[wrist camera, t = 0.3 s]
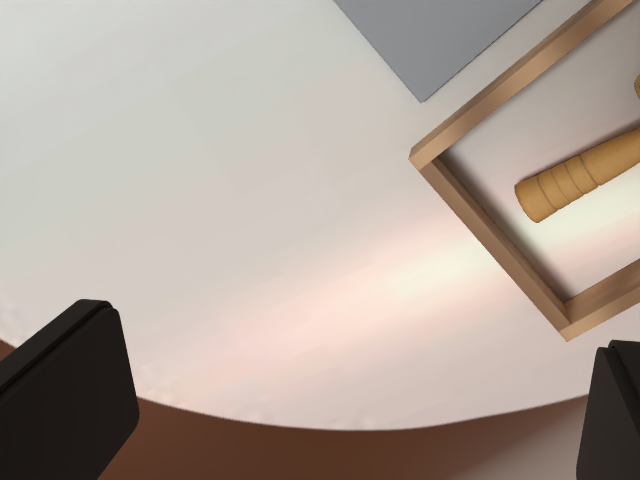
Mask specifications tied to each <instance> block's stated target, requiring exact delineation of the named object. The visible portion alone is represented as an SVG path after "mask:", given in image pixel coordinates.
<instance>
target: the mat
mask: <svg viewBox="0 0 640 480" xmlns="http://www.w3.org/2000/svg"><path fill="white" fill-rule="evenodd" d="M540 1H541V0H334V2H335V3H336V4H337V5H338V6H339V8H340V9H341V10H342V11H343V12H344V13H345V15H346V16H347V17H348V18H349V19H350V21H351V22H352V23H353V24H354V25H355V26H356V28H357V29H358V30H359V31H360V32H361V34H362V35H363V36H364V37H365V38H366V39H367V41H368V42H369V43H370V44H371V45H372V47H373V48H374V49H375V50H376V51H377V52H378V54H379V55H380V56H381V57H382V58H383V60H384V61H385V62H386V63H387V64H388V65H389V67H390V68H391V69H392V70H393V71H394V73H395V74H396V75H397V76H398V77H399V78H400V80H401V81H402V82H403V83H404V84H405V86H406V87H407V88H408V89H409V90H410V91H411V93H412V94H413V95H414V96H415V97H416V98H417V100H418V101H419V102H420V103H422V102H423V101H424V100H426V99H427V98H428V97H429V96H430V95H431V94H433V93H434V92H435V91H436V90H437V89H438V88H440V87H441V86H442V85H443V84H444V83H445V82H447V81H448V80H449V79H450V78H451V77H452V76H454V75H455V74H456V73H457V72H458V71H459V70H461V69H462V68H463V67H464V66H465V65H466V64H468V63H469V62H470V61H471V60H472V59H473V58H475V57H476V56H477V55H478V54H479V53H480V52H482V51H483V50H484V49H485V48H486V47H487V46H489V45H490V44H491V43H492V42H493V41H494V40H496V39H497V38H498V37H499V36H500V35H501V34H503V33H504V32H505V31H506V30H507V29H508V28H510V27H511V26H512V25H513V24H514V23H515V22H517V21H518V20H519V19H520V18H521V17H522V16H524V15H525V14H526V13H527V12H528V11H529V10H531V9H532V8H533V7H534V6H535V5H536V4H538V3H539V2H540Z"/></svg>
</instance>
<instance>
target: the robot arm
mask: <svg viewBox="0 0 640 480" xmlns="http://www.w3.org/2000/svg"><path fill="white" fill-rule="evenodd" d="M138 420H139V407H138V402H137V397H136V392H135V387H134V382H133V377H132V373H131V368H130V363H129V358H128V353H127V349H126V344H125V339H124V334H123V329H122V325H121V320H120V315H119V312H118V311H117V310H116V309H115V308H113V306H112V305H111V304H110V302H108V301H102V300H89V299H80V300H78V301H76V302H75V303H74V304H73V305H71V306H70V307H69V308H68V309H66V310H65V311H64V312H62V313H61V314H60V315H59V316H57V317H56V318H55V319H54V320H52V321H51V322H50V323H49V324H47V325H46V326H45V327H43V328H42V329H41V330H40V331H38V332H37V333H36V334H35V335H33V336H32V337H31V338H29V339H28V340H27V341H26V342H24V343H23V344H22V345H21V346H19V347H18V348H17V349H16V350H14V351H13V352H12V353H11V354H9V355H8V356H7V357H6V358H4V359H3V360H2V361H0V480H97V479H98V477H99V476H100V475H101V474H102V472H103V471H104V470H105V468H106V467H107V466H108V464H109V463H110V461H111V460H112V459H113V458H114V456H115V455H116V454H117V452H118V451H119V450H120V448H121V447H122V446H123V444H124V443H125V442H126V440H127V439H128V438H129V436H130V435H131V434H132V432H133V431H134V430H135V428H136V426H137V424H138ZM576 477H577V480H640V342H635V341H622V340H612V341H610V343H609V345H608V348H605V347H599V348H598V349H597V352H596V356H595V362H594V368H593V374H592V379H591V385H590V391H589V397H588V403H587V409H586V414H585V420H584V425H583V431H582V437H581V443H580V449H579V454H578V460H577V467H576Z"/></svg>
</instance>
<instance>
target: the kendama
mask: <svg viewBox="0 0 640 480" xmlns="http://www.w3.org/2000/svg"><path fill="white" fill-rule="evenodd" d="M634 84H635V85H634V86H635V90H636V93H637V95H638V97H639V99H640V75H639V76H638V77H637V79H636V81H635V83H634ZM639 162H640V128H638V129H635V130H633V131H630V132H628V133H625V134H623V135H621V136H618V137H616V138H614V139H611V140H609V141H607V142H605V143H602V144H600V145H598V146H596V147H594V148H592V149H590V150H588V151H586V152H583V153H582V154H581V156H580V155H577V156H575V157H573V158H571V159H569V160H567V161H566V162H563V163H561V164H559V165H557V166H555V167H553V168H552V169H548V170H546V171H544V172H542V173H540V174H539V175H535V176H533V177H531V178H529V179H526V180H524V181H522V182H519V183H518V184H516V185H515V186H514V187H515V194H516V196H517V198H518V201H519V203H520V205H521V206H522V208H523V210H524V211H525V213H526V214H527V216H528V217H529V218H530V219H531V220H532V221H534V222H535V223H539V222H540V221H542V220H544V219H545V218H547V217H549V216H550V215H552V214H553V213H555V212H556V211H557V210H558V209H561V208H563V207H565V206H566V205H568V204H570V203H571V202H573V201H575V200H577V199H579V198H580V197H582V196H583V195H584V194H587V193H589V192H591V191H592V190H594V189H596V188H597V187H598V185H600V186H601V185H603V184H605V183H606V182H608V181H610V180H612V179H613V178H615V177H617V176H618V175H620V174H622V173H623V172H625V171H627V170H628V169H630V168H631V167H633V166H635V165H636V164H638V163H639Z"/></svg>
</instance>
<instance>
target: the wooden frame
mask: <svg viewBox="0 0 640 480" xmlns="http://www.w3.org/2000/svg"><path fill="white" fill-rule="evenodd" d="M632 1H633V0H592V1H590V2H589V3H588V4H587V5H585V6H584V7H583V8H582V9H581V10H579V11H578V12H577V13H576V14H574V15H573V16H572V17H571V18H570V19H568V20H567V21H566V22H565V23H564V24H562V25H561V26H560V27H559V28H557V29H556V30H555V31H554V32H553V33H551V34H550V35H549V36H548V37H546V38H545V39H544V40H543V41H542V42H540V43H539V44H538V45H537V46H535V47H534V48H533V49H532V50H531V51H529V52H528V53H527V54H526V55H525V56H523V57H522V58H521V59H520V60H518V61H517V62H516V63H515V64H514V65H512V66H511V67H510V68H509V69H507V70H506V71H505V72H504V73H503V74H501V75H500V76H499V77H498V78H496V79H495V80H494V81H493V82H492V83H490V84H489V85H488V86H487V87H485V88H484V89H483V90H482V91H481V92H479V93H478V94H477V95H476V96H475V97H473V98H472V99H471V100H470V101H468V102H467V103H466V104H465V105H464V106H462V107H461V108H460V109H459V110H457V111H456V112H455V113H454V114H453V115H451V116H450V117H449V118H448V119H446V120H445V121H444V122H443V123H442V124H440V125H439V126H438V127H437V128H436V129H434V130H433V131H432V132H431V133H429V134H428V135H427V136H426V137H425V138H423V139H422V140H421V141H420V142H418V143H417V144H416V145H415V146H414V147H412V149H411V152H410V156H409V159H408V160H409V161H410V162H411V163H412V164H413V165H414V167H415V168H416V169H417V170H418V171H419V172H420V173H421V175H422V176H423V177H424V178H425V179H426V180H427V181H428V183H429V184H430V185H431V186H432V187H433V188H434V190H435V191H436V192H437V193H438V194H439V195H440V196H441V198H442V199H443V200H444V201H445V202H446V203H447V204H448V206H449V207H450V208H451V209H452V210H453V211H454V213H455V214H456V215H457V216H458V217H459V218H460V219H461V221H462V222H463V223H464V224H465V225H466V226H467V227H468V229H469V230H470V231H471V232H472V233H473V234H474V236H475V237H476V238H477V239H478V240H479V241H480V242H481V244H482V245H483V246H484V247H485V248H486V249H487V251H488V252H489V253H490V254H491V255H492V256H493V257H494V259H495V260H496V261H497V262H498V263H499V264H500V265H501V267H502V268H503V269H504V270H505V271H506V272H507V274H508V275H509V276H510V277H511V278H512V279H513V280H514V282H515V283H516V284H517V285H518V286H519V287H520V288H521V290H522V291H523V292H524V293H525V294H526V295H527V297H528V298H529V299H530V300H531V301H532V302H533V303H534V305H535V306H536V307H537V308H538V309H539V310H540V311H541V313H542V314H543V315H544V316H545V317H546V318H547V320H548V321H549V322H550V323H551V324H552V325H553V326H554V328H555V329H556V330H557V331H558V332H559V333H560V334H561V336H562V337H563V338H564V339H565V340H566V341H567V342H568V341H570V340H572V339H573V338H575V337H577V336H579V335H581V334H583V333H584V332H586V331H588V330H590V329H592V328H594V327H595V326H597V325H599V324H601V323H603V322H605V321H606V320H608V319H610V318H612V317H614V316H616V315H617V314H619V313H621V312H623V311H625V310H626V309H628V308H630V307H632V306H634V305H636V304H637V303H639V302H640V259H639V260H637V261H635V262H633V263H632V264H630V265H628V266H626V267H625V268H623V269H621V270H620V271H618V272H616V273H614V274H613V275H611V276H609V277H608V278H606V279H604V280H602V281H601V282H599V283H597V284H596V285H594V286H592V287H590V288H589V289H587V290H585V291H584V292H582V293H580V294H578V295H577V296H575V297H573V298H571V299H570V300H568V301H566V302H565V303H563V302H562V300H561V299H560V298H559V297H558V296H557V295H556V293H555V292H554V291H553V290H552V289H551V288H550V286H549V285H548V284H547V283H546V282H545V281H544V279H543V278H542V277H541V276H540V275H539V274H538V272H537V271H536V270H535V269H534V268H533V267H532V265H531V264H530V263H529V262H528V261H527V260H526V258H525V257H524V256H523V255H522V254H521V253H520V251H519V250H518V249H517V248H516V247H515V246H514V244H513V243H512V242H511V241H510V240H509V239H508V237H507V236H506V235H505V234H504V233H503V232H502V230H501V229H500V228H499V227H498V226H497V225H496V223H495V222H494V221H493V220H492V219H491V218H490V216H489V215H488V214H487V213H486V212H485V211H484V209H483V208H482V207H481V206H480V205H479V204H478V202H477V201H476V200H475V199H474V198H473V197H472V195H471V194H470V193H469V192H468V191H467V190H466V188H465V187H464V186H463V185H462V184H461V183H460V181H459V180H458V179H457V178H456V177H455V176H454V174H453V173H452V172H451V171H450V170H449V169H448V167H447V166H446V165H445V164H444V163H443V162H442V160H441V159H440V158H439V157H438V155H439V154H440V153H442V152H443V151H444V150H445V149H447V148H448V147H449V146H450V145H452V144H453V143H454V142H455V141H457V140H458V139H459V138H460V137H462V136H463V135H464V134H466V133H467V132H468V131H469V130H471V129H472V128H473V127H474V126H476V125H477V124H478V123H479V122H481V121H482V120H483V119H484V118H486V117H487V116H488V115H489V114H491V113H492V112H493V111H495V110H496V109H497V108H498V107H500V106H501V105H502V104H503V103H505V102H506V101H507V100H508V99H510V98H511V97H512V96H513V95H515V94H516V93H517V92H519V91H520V90H521V89H522V88H524V87H525V86H526V85H527V84H529V83H530V82H531V81H532V80H534V79H535V78H536V77H537V76H539V75H540V74H541V73H542V72H544V71H545V70H546V69H548V68H549V67H550V66H551V65H553V64H554V63H555V62H556V61H558V60H559V59H560V58H561V57H563V56H564V55H565V54H566V53H568V52H569V51H570V50H571V49H573V48H574V47H575V46H577V45H578V44H579V43H580V42H582V41H583V40H584V39H585V38H587V37H588V36H589V35H590V34H592V33H593V32H594V31H595V30H597V29H598V28H599V27H600V26H602V25H603V24H604V23H606V22H607V21H608V20H609V19H611V18H612V17H613V16H614V15H616V14H617V13H618V12H619V11H621V10H622V9H623V8H624V7H626V6H627V5H628V4H630V3H631V2H632Z"/></svg>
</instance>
